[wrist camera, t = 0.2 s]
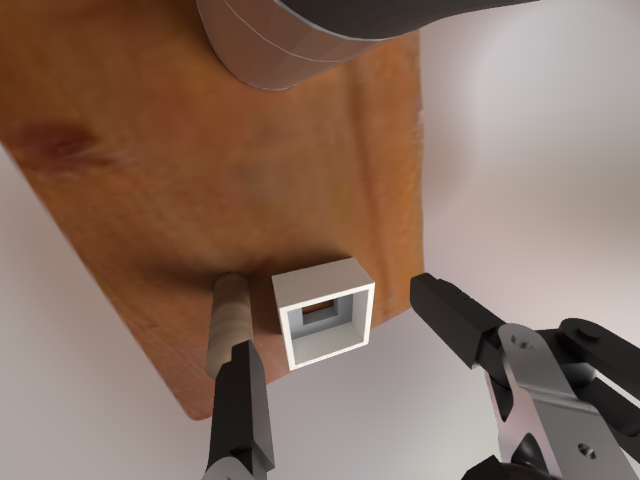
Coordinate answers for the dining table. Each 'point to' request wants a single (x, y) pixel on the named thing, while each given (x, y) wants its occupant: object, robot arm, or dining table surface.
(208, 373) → the peg
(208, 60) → the dining table surface
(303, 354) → the open box
